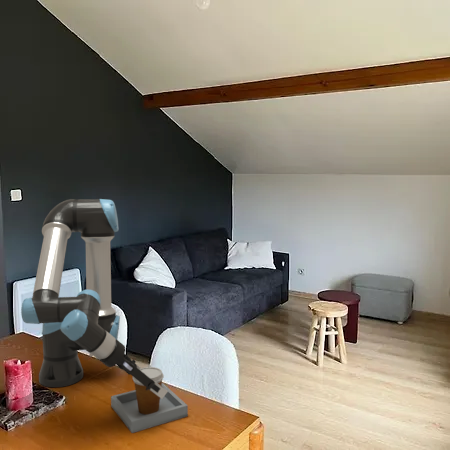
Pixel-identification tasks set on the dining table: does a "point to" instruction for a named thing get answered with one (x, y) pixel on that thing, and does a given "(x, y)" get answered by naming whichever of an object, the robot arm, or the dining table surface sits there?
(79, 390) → the dining table surface
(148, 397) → the disposable coffee cup
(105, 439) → the dining table surface
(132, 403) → the tray
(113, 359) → the robot arm
